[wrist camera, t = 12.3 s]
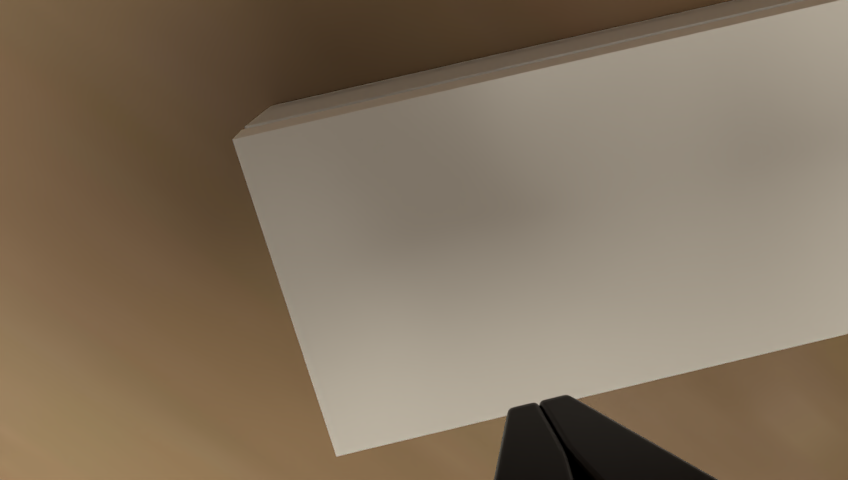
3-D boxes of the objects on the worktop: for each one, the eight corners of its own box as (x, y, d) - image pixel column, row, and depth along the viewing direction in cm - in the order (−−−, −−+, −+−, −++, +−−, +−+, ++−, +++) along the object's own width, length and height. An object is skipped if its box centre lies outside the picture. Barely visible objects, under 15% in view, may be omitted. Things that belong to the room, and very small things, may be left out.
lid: (1140, -77, 14) (1197, -82, 13) (1075, 253, 17) (1117, 269, 16) (241, 129, 13) (232, 139, 12) (337, 430, 16) (336, 456, 15)
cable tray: (957, -52, 18) (1117, -74, 14) (939, 211, 20) (1070, 252, 17) (270, 105, 17) (244, 126, 14) (342, 353, 20) (337, 428, 16)
